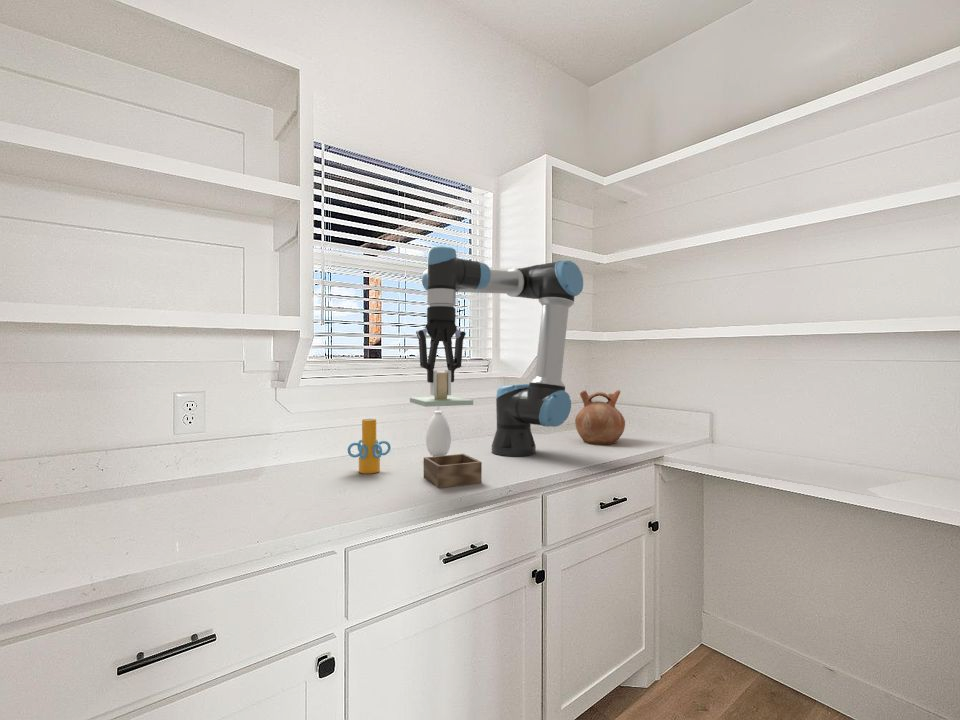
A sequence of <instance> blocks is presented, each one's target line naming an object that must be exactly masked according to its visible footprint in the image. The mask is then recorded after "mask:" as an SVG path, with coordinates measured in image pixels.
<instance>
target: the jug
mask: <svg viewBox="0 0 960 720" xmlns="http://www.w3.org/2000/svg"><path fill="white" fill-rule="evenodd" d="M620 394H621V390H619V389H617V390H616V391H614V393H608V394H607V393H606V392H602V391H596V392H594V393H592V394H590V395H589V394H588V392H587V390H581V392H580V393H579V395H580V398H581V400H582V403H583V407H582V408H581V409H580V411H579V412H578V413H577V415H576V417H575V421H574V423H575V429H576V431H577V433H578V435H579V436H580V438H581V440H582V441H583V442H584V443H585V444H589V445H597V446H610V445H614V444H616V443H617V442H618V440H619V439H620V438H621V437H622V435H623V434H624V431H625V427H626V420H625V418H624V416H623V414H622V412H620V410H618V408H617V407H616V404H617V401H618V399H619V397H620ZM599 396H600V397H602V398H605V399H607V401H605V402H604V401H592V400H593V399H594V398H596V397H599Z"/></svg>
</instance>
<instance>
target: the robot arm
mask: <svg viewBox="0 0 960 720" xmlns="http://www.w3.org/2000/svg"><path fill="white" fill-rule="evenodd" d="M426 261H427V263H426V266H427V267H426V268H427V269H426V270H425V271H423V274H422V276H421V282H422V287H423V288H424V289H425V290H426V291H427V292H426V293H427V295H426V297H427V300H426V302H427V303H426V304H427V305H428V307H427V308H426V321H427V322H426V325H425V328H422V329H420V330H416V331H415V335H416V336H417V338H418V348H419V352H418V353H419V366H420V368H422V369H425V370H426V372H427V373H426V374H427V375H426V380H427V383H428V384H429V383H430V392H429V393H430V394H429V395H430V396H432V397H434V396H437V372H438V370H435V366H436V359H437V353H438V348H439V347H438V346H439V345H440V342H442V345H443V347H444V353H445V360H446V368H447V370H446V369H445V370H444V372H446V373H447V396H451V395H452V383H454V382H455V371H456V370H457V369H460V368H461V367H462V361H463V360H462V359H463V347H464V339H465V337H466V334H467V333H466V331H464V330H463V331H461V330H460V329H458V327H457V325H456V307H454V306H456V302H457V300H456V299H457V298H456V296H457V295H456V293H470V294H471V293H475V294H476V293H477V294H479V293H480V294H506V295H507V296H508V297H512V298H513V297H515V298H525V299H531V300H538V303H539V304H541V306H542V309H541V316H540V325H539V336H538V343H537V344H538V346H537V353H536V355H537V356H536V362H535V363H536V364H535V373H534V378H533V379H532V380H531V381H529V383H525V384H524V383H523V384H513V385H512V384H511V385H504V386H503V385H501V386H499V387H498V388H497V390H496V397H495V399H496V400H495V403H496V404H495V405H496V407H495V408H496V410H495V411H496V430H495V434H494V436H493V441H492V443H491V453H492V454H494V455H498V456H503V457H504V456H505V457H509V456H510V457H523V456H524V457H525V456H526V457H527V456H531V455H534V454H536V451H537V450H536V449H537V448H536V447H537V446H536V443H535V440H534V436H533V434H532V429H531V426H532V425H533V426H534V425H535V426H542V427H547V428H548V427H550V428H552V427H553V428H555V427H556V428H557V427H559V426H561V425H562V424H564V423H565V421H567V420H568V418H569V415H570V414H571V409H572V400H571V396H570V394H569V393H568V392H567V391H566V385H565V384H564V382H563V381H562V378H563V377H562V374H563V367H564V366H563V365H564V358H565V357H564V355H565V348H566V340H567V339H566V336H567V328H568V317H569V309H570V308H571V307H572V306H574V305H575V297H577V296H579V295H580V294H581V292H583V288H584V278H583V273H582V271H581V269H580V267H579V266H578V265H577V263H576V262H575V261H574V262H573V261H571V260H557V261H553V262H548V263H546V262H545V263H542V264H535V265H530V266H527V267H521V268H517V267H515V268H510V269H508V270H500V269H490V267H489V265H487V263H484V262H480V261H479V260H478V261H477V260H476V261H475V260H470V259H463V258H459V257H457V250H456V249H455V248H453V247H451V246H443V245H442V246H434V247H431V248H430V249H429V250H428V252H427V260H426ZM427 335H428V336H429V337H430V343H429V345H430V346H429V352H427V351H428V350H427V338H426V337H427ZM453 337H455V343H454V351H453V346H452V345H453V340H452V338H453Z"/></svg>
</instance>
